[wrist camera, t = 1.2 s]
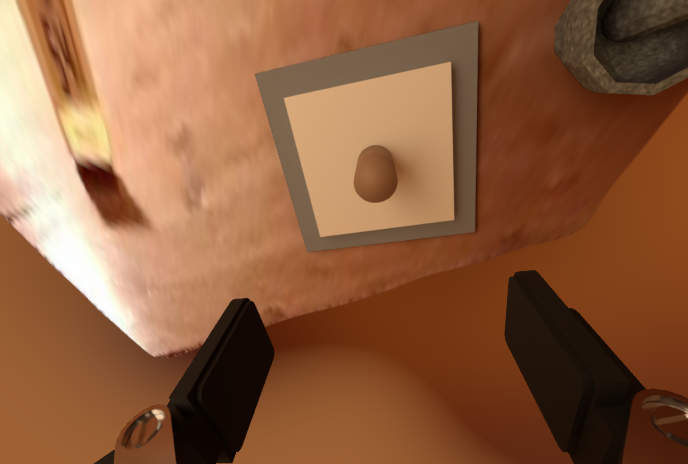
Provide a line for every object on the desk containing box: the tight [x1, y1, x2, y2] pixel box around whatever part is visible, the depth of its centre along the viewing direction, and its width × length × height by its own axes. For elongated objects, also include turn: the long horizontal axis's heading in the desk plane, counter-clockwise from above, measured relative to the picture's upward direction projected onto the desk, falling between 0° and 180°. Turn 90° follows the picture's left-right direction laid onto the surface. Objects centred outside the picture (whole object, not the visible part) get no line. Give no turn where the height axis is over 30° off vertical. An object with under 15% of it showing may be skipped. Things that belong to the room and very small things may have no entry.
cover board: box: [284, 62, 454, 237], centre depth 27 cm, size 15×15×7 cm
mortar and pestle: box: [554, 0, 688, 95], centre depth 18 cm, size 11×9×12 cm
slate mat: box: [255, 21, 478, 252], centre depth 30 cm, size 20×20×1 cm
